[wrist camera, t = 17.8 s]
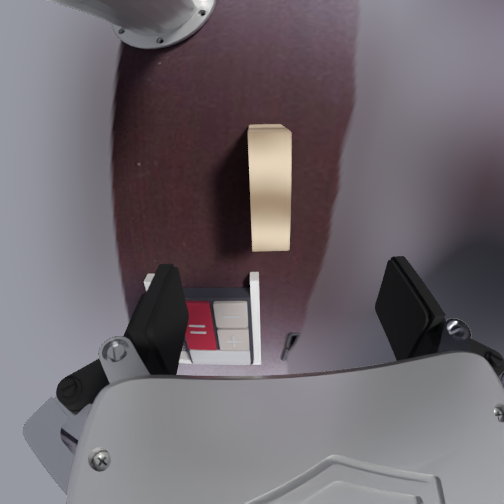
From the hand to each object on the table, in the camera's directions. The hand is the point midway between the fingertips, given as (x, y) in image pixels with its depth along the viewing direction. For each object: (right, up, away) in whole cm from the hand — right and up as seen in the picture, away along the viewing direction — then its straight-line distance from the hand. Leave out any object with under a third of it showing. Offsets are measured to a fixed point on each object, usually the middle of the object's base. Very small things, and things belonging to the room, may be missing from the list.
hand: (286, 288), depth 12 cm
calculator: (-7, -10, +32) cm, 35 cm away
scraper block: (0, +11, +19) cm, 22 cm away
